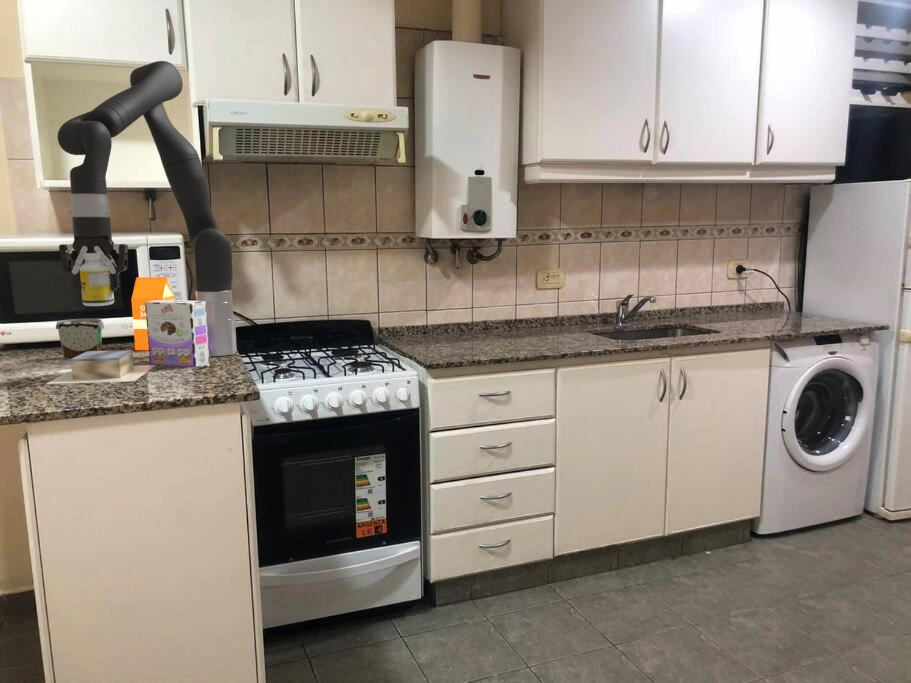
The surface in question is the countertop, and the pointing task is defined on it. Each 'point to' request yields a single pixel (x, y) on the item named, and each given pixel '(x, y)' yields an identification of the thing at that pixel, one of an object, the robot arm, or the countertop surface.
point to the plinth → (102, 364)
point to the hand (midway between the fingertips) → (97, 290)
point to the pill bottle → (95, 281)
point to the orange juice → (143, 293)
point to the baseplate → (130, 376)
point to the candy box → (177, 332)
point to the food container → (80, 336)
